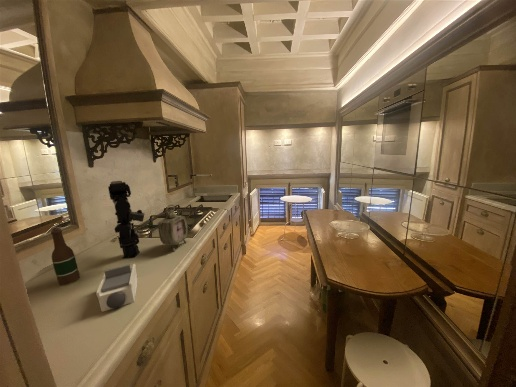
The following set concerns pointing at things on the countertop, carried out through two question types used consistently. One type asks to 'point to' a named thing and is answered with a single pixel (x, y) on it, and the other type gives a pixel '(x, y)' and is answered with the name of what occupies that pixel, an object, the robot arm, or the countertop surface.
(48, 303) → the countertop surface
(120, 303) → the white open box
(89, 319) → the countertop surface
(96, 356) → the countertop surface
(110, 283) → the door
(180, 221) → the tabletop clock
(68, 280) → the beer bottle
